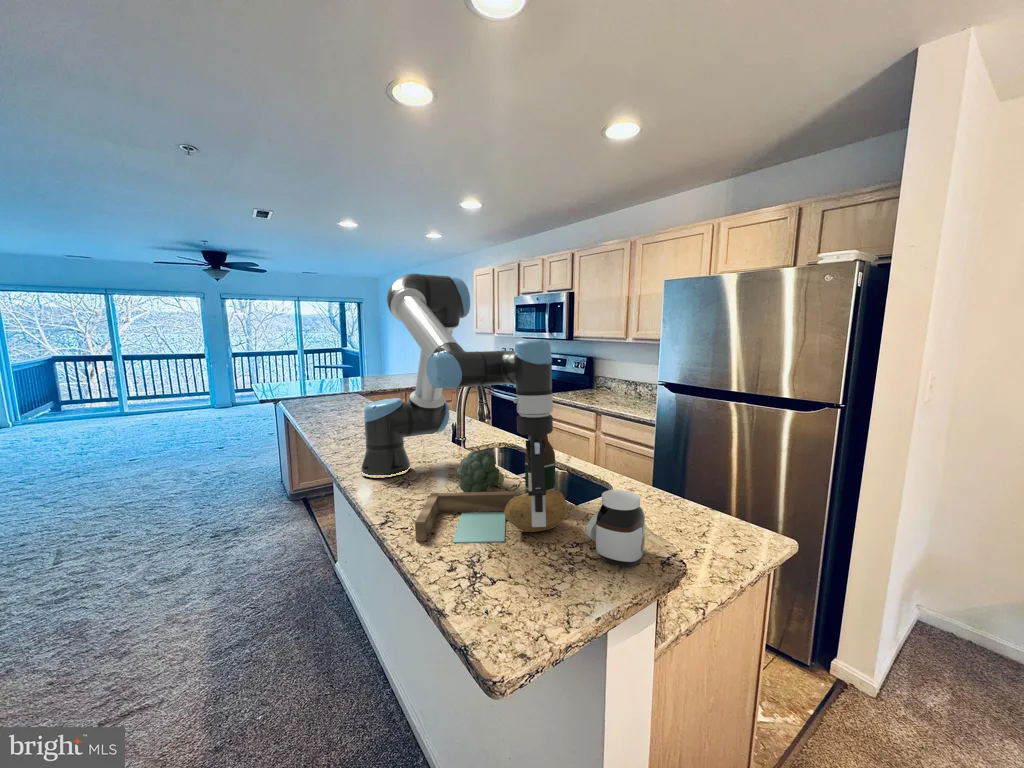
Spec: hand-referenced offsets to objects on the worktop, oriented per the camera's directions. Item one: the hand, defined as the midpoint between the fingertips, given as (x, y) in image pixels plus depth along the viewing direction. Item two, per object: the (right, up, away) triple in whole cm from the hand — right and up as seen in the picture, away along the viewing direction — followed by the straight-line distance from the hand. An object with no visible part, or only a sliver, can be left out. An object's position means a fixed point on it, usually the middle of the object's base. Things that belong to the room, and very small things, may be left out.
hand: (536, 512), depth 86 cm
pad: (-12, -4, +3) cm, 13 cm away
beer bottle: (+2, -3, +14) cm, 15 cm away
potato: (0, -4, +1) cm, 4 cm away
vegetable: (-14, -2, +25) cm, 28 cm away
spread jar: (+14, -5, -9) cm, 17 cm away
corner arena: (-15, -4, +5) cm, 16 cm away
